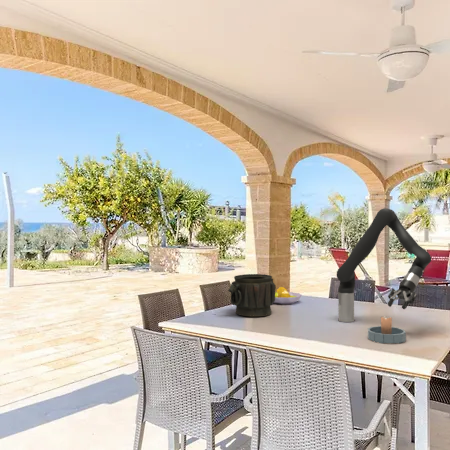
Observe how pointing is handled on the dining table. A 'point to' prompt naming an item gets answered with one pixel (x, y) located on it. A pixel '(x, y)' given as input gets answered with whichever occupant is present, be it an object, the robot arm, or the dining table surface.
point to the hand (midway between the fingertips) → (395, 307)
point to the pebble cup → (386, 325)
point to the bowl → (386, 335)
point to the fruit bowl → (285, 296)
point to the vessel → (253, 294)
